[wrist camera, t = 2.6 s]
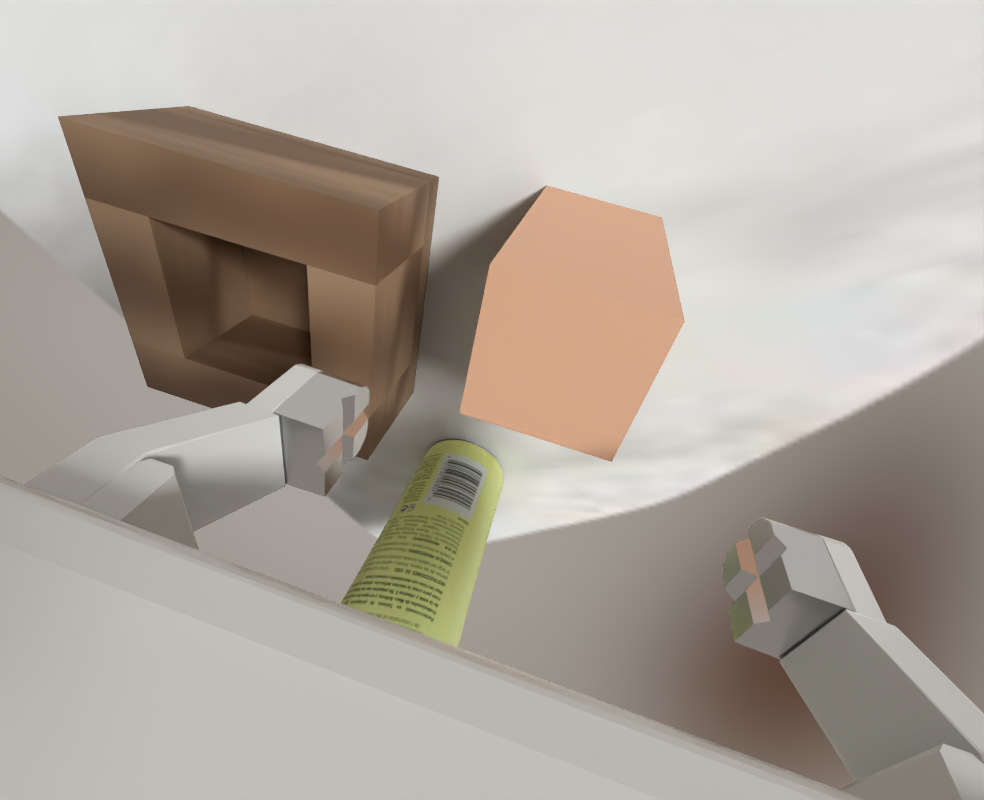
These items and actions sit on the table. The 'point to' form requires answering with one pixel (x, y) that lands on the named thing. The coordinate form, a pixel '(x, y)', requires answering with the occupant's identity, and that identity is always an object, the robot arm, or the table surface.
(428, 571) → the tube
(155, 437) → the robot arm
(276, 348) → the socket block
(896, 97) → the table surface
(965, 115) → the table surface
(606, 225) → the peg
